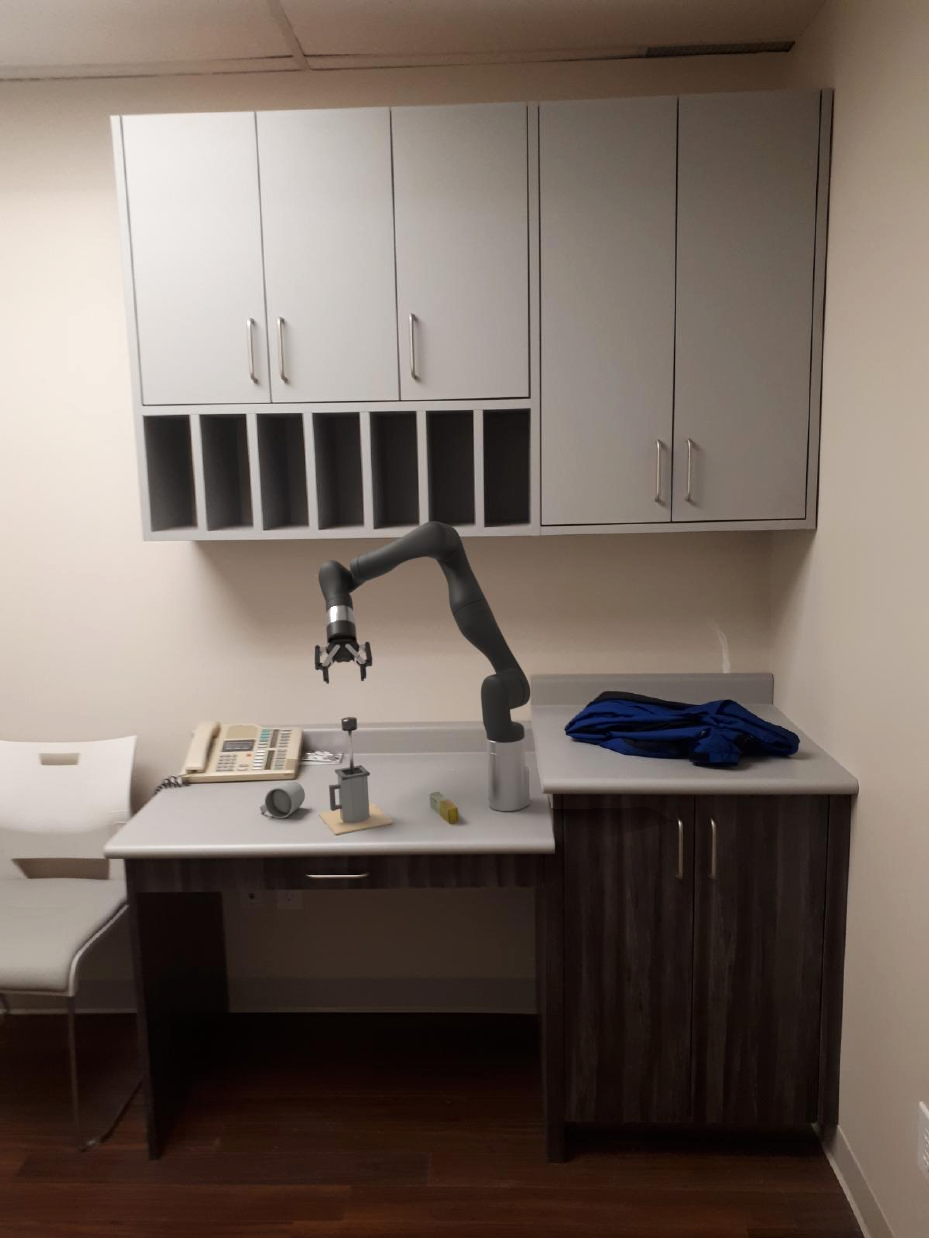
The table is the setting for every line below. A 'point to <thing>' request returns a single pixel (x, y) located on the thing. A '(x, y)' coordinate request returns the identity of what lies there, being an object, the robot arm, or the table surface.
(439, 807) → the medication box
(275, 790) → the ceramic mug
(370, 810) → the carafe
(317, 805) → the table surface
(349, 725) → the plunger
